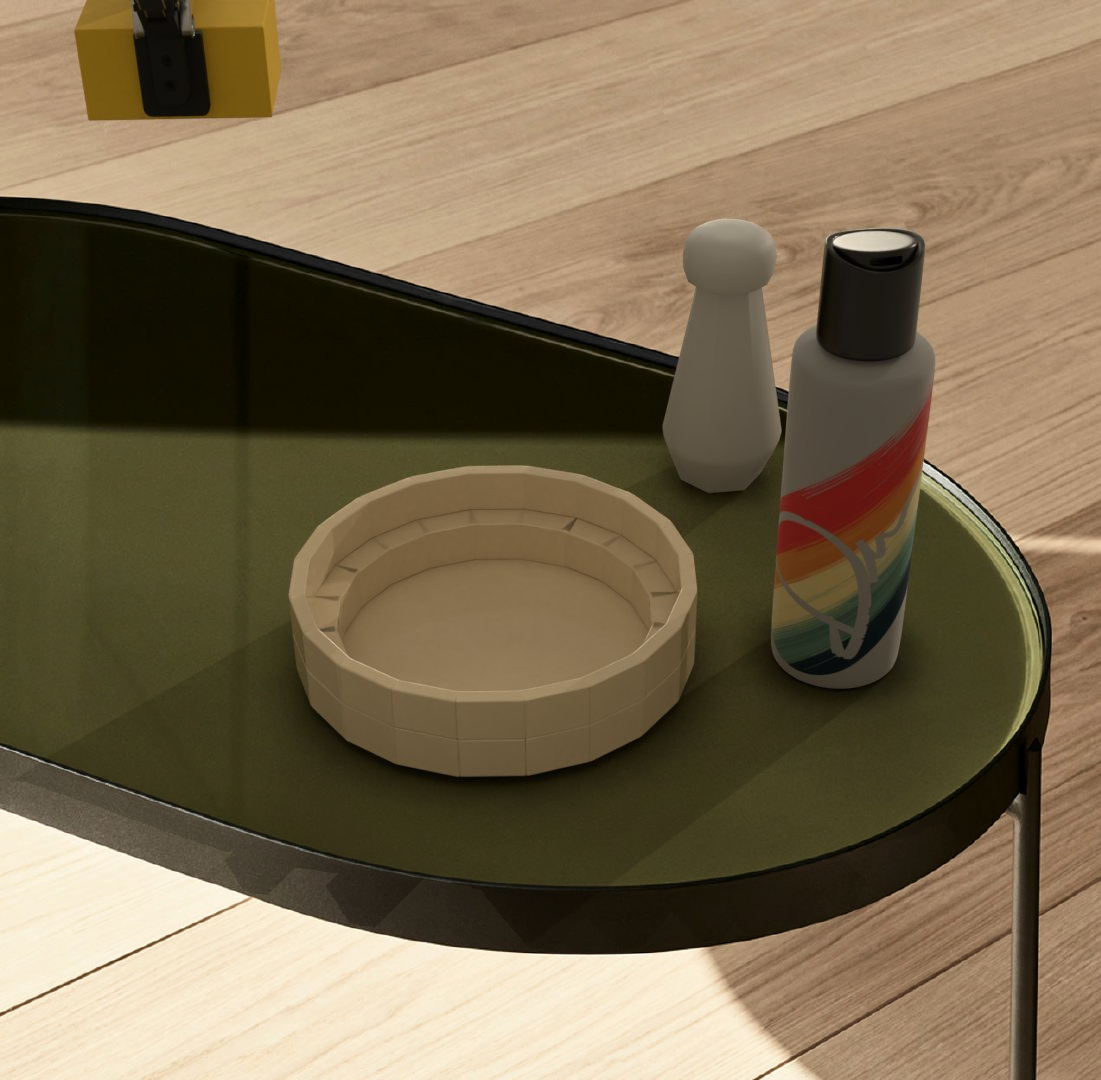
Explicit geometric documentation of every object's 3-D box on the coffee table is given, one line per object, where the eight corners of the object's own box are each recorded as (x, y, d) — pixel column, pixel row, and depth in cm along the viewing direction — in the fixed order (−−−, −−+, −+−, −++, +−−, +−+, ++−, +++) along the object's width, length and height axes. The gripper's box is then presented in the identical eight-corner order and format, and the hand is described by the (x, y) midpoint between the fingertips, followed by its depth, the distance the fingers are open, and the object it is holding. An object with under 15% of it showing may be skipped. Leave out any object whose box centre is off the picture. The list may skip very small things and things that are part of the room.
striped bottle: (787, 698, 86) (822, 274, 73) (756, 621, 90) (784, 208, 78) (914, 684, 87) (971, 262, 74) (877, 608, 91) (925, 196, 78)
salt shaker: (748, 431, 103) (762, 195, 95) (797, 488, 99) (816, 246, 90) (643, 454, 101) (648, 215, 93) (688, 512, 97) (698, 268, 89)
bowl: (281, 789, 82) (270, 704, 79) (316, 547, 95) (308, 467, 92) (705, 783, 82) (709, 698, 79) (680, 543, 95) (683, 462, 92)
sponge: (88, 121, 98) (73, 30, 95) (105, 74, 102) (91, -15, 99) (272, 118, 98) (263, 26, 95) (281, 71, 102) (273, -18, 99)
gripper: (79, -353, 95) (133, 25, 106) (15, -260, 81) (84, 160, 93) (237, -355, 95) (274, 22, 106) (200, -262, 82) (246, 157, 93)
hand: (185, 83), depth 100 cm, fingers closed on sponge, 6 cm apart
